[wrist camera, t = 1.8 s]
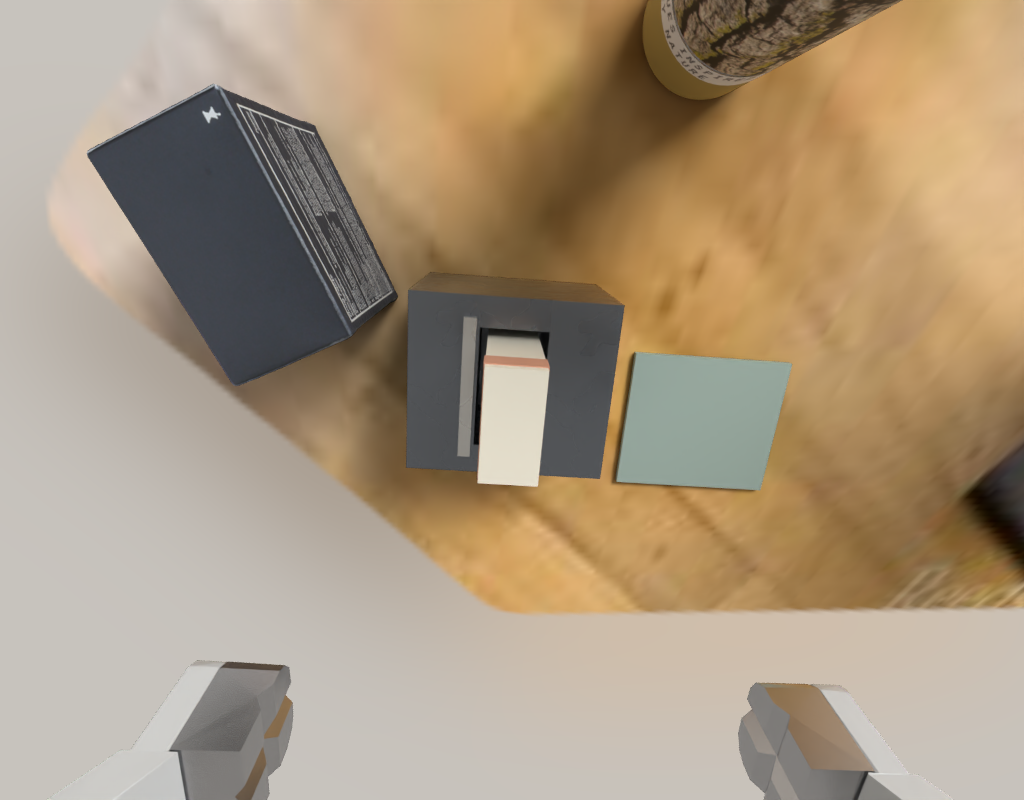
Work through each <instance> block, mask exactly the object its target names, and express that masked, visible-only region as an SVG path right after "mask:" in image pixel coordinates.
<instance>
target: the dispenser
mask: <svg viewBox="0 0 1024 800" xmlns="http://www.w3.org/2000/svg"><path fill="white" fill-rule="evenodd" d="M624 306H625V305H623V304H622V303H621V302H619V301H618V300H616V299H615V298H614V297H612V296H611V295H610V294H608V293H607V292H606V291H604V290H603V289H601V288H600V287H599V286H597V285H596V284H583V283H570V282H556V281H543V280H529V279H515V278H502V277H488V276H475V275H461V274H448V273H434V272H430V273H429V274H428V275H426V276H425V277H424V278H423V279H421V280H420V281H419V282H417V283H416V284H415V285H414V286H412V287H411V288H410V289H409V290H408V363H407V456H406V468H424V469H441V470H458V471H475V472H477V467H478V450H479V433H480V416H481V399H482V382H483V365H484V355H486V349H487V340H488V331H489V328H496V329H510V330H525V331H537V333H538V336H539V339H540V342H541V346H542V349H543V352H544V355H545V359H547V360H548V363H549V366H550V371H549V381H548V391H547V401H546V411H545V420H544V430H543V440H542V450H541V460H540V470H539V475H543V476H561V477H578V478H595V479H600V475H601V468H602V461H603V454H604V447H605V440H606V433H607V426H608V419H609V412H610V405H611V398H612V391H613V384H614V377H615V370H616V362H617V355H618V348H619V341H620V334H621V327H622V320H623V313H624Z"/></svg>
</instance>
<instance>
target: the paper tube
mask: <svg viewBox="0 0 1024 800" xmlns="http://www.w3.org/2000/svg"><path fill="white" fill-rule="evenodd" d="M900 1H902V0H648V3H647V6H646V10H645V14H644V20H643V45H644V50H645V54H646V58H647V61H648V63H649V66H650V68H651V69H652V71H653V73H654V74H655V76H656V77H657V79H658V80H659V81H660V82H661V83H662V84H663V85H664V86H665V87H666V88H667V89H669V90H670V91H671V92H673V93H675V94H677V95H679V96H682V97H685V98H688V99H694V100H705V99H712V98H717V97H720V96H723V95H725V94H727V93H729V92H731V91H733V90H735V89H737V88H739V87H741V86H742V85H744V84H746V83H748V82H750V81H752V80H754V79H756V78H758V77H760V76H762V75H764V74H766V73H768V72H770V71H771V70H773V69H775V68H777V67H779V66H781V65H783V64H784V63H786V62H788V61H790V60H792V59H794V58H796V57H798V56H799V55H801V54H803V53H805V52H807V51H809V50H811V49H812V48H814V47H816V46H818V45H820V44H822V43H824V42H825V41H827V40H829V39H831V38H833V37H835V36H837V35H838V34H840V33H842V32H844V31H846V30H848V29H850V28H852V27H853V26H855V25H857V24H859V23H861V22H863V21H865V20H866V19H868V18H870V17H872V16H874V15H876V14H878V13H879V12H881V11H883V10H885V9H887V8H889V7H891V6H892V5H894V4H896V3H898V2H900Z"/></svg>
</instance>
